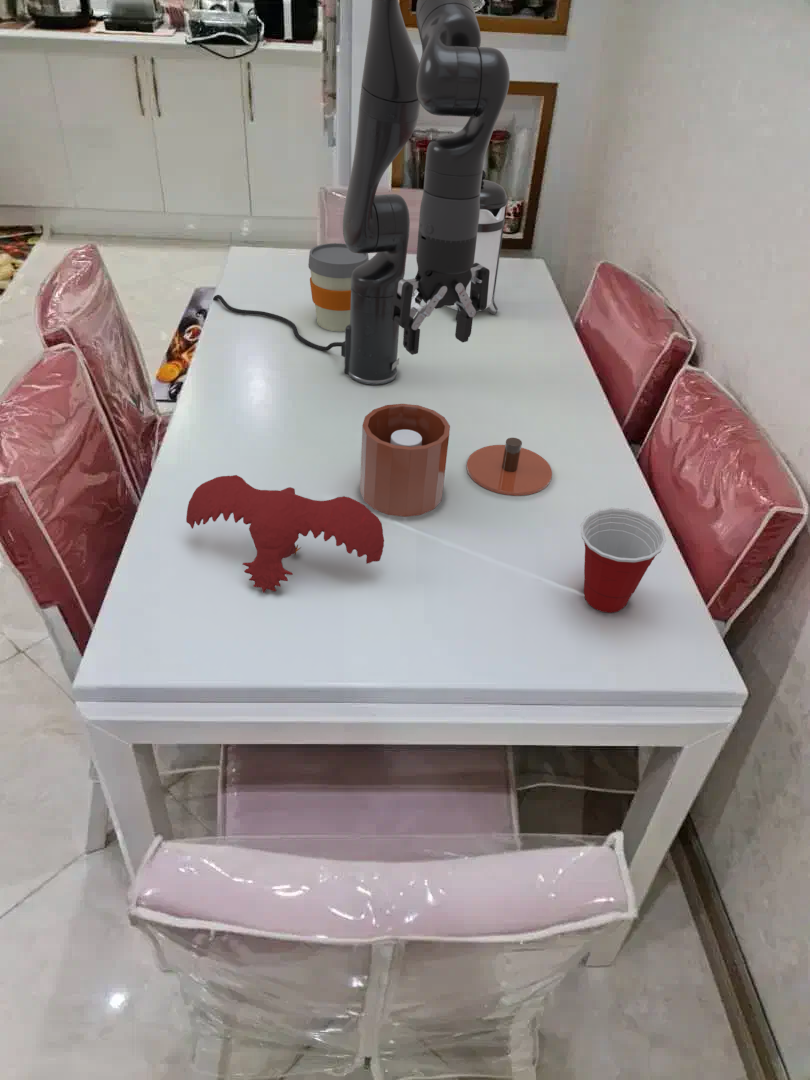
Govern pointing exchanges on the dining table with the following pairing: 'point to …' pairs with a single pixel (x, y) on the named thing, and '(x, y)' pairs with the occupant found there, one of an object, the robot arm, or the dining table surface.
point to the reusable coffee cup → (333, 283)
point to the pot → (403, 460)
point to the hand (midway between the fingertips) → (436, 346)
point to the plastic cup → (617, 555)
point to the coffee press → (489, 235)
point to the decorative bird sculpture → (285, 523)
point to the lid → (509, 469)
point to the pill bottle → (406, 438)
